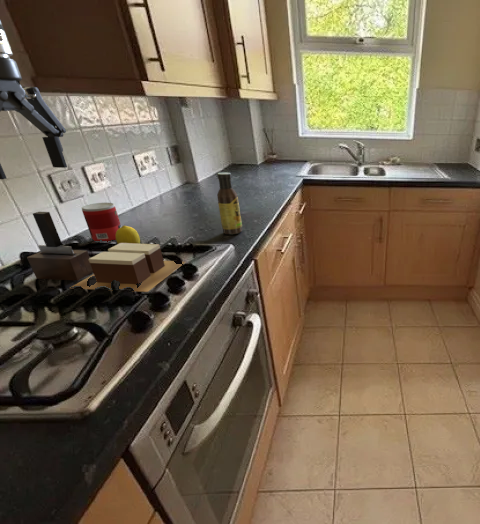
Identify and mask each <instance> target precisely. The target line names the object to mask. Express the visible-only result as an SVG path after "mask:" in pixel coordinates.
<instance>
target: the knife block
mask: <svg viewBox="0 0 480 524" xmlns="http://www.w3.org/2000/svg"><path fill="white" fill-rule="evenodd" d="M72 250H73V252H74V256H67V255H44V254H41V251H39V252H37V253H34V254H32V255H29V256H27V257H26V259H27V261H28V263H29V265H30V268H31V270H32V272H33V274H34V276H35V279H37V280H54V281H56V280H57V281H76V282H78V281H80V280H83V278H84V279H85V277H88V276H89V275H91V274H93V270H92V267H91V265H90V262H89V259H90V258H91V257H90V253H89V252H88V250H83V249H82V250H80V249H72Z"/></svg>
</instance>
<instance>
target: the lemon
mask: <svg viewBox="0 0 480 524" xmlns="http://www.w3.org/2000/svg"><path fill="white" fill-rule="evenodd" d="M115 241H116V244H119V243H137V244H141V238H140V234H139V232H138V231H137V229H135V228H134V227H131V226H130V225H129V226H127V225H125V224H124V225H121V228H119V229H118V230H117V232H116V240H115Z"/></svg>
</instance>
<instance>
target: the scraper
mask: <svg viewBox="0 0 480 524" xmlns="http://www.w3.org/2000/svg"><path fill="white" fill-rule="evenodd" d="M32 216H33V218H34V220H35V223H36V225H37V228H38V230H39V233H40V235H41V237H42V240H43V242H44V244H39V245H37V246H38V249H39V252H41V254H44V255H67V256H74V252H73V250H74V249H73V248H72V246H69V245H63V243H62V240H61V237H60V235H59V232H58V230H57V228H56V226H55V225H56V224H55V223H54V219H53V217H52V214H51V212H50V211H36V212H33V213H32Z"/></svg>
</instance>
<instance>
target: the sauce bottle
mask: <svg viewBox="0 0 480 524" xmlns="http://www.w3.org/2000/svg"><path fill="white" fill-rule="evenodd" d="M216 176H217V179H218V184H219V189H218V191H217V195H216V197H217V204H218V210H219V216H220V223H221V228H222V232H223V234H225V235H231V236H232V235H237V234H240V233H242V231H243V222H242V217H241V209H240V204H239V196H238V193H237V192H236V190H235V189H234V188H233V184H232V173H231V172H226V171H225V172H217V173H216Z"/></svg>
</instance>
